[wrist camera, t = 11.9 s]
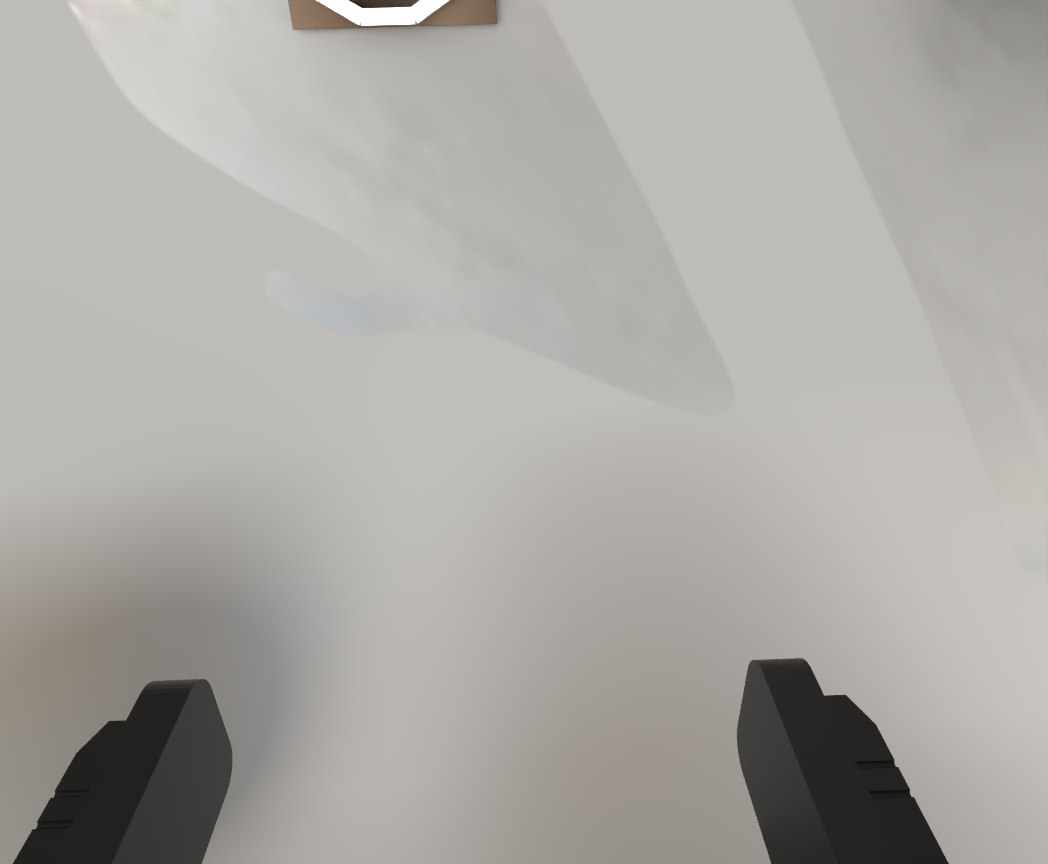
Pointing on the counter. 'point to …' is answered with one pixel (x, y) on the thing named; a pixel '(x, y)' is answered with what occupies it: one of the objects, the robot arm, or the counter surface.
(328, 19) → the board
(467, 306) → the counter surface
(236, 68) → the counter surface
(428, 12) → the collar
